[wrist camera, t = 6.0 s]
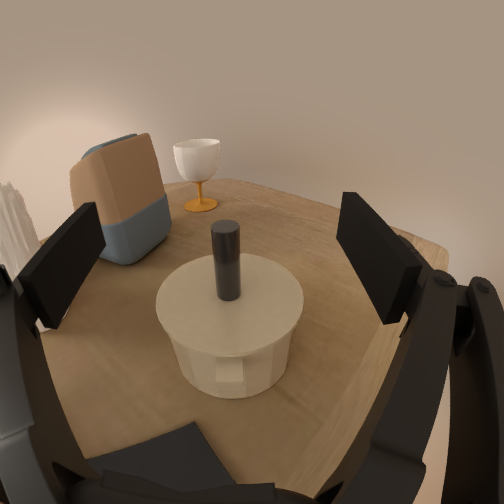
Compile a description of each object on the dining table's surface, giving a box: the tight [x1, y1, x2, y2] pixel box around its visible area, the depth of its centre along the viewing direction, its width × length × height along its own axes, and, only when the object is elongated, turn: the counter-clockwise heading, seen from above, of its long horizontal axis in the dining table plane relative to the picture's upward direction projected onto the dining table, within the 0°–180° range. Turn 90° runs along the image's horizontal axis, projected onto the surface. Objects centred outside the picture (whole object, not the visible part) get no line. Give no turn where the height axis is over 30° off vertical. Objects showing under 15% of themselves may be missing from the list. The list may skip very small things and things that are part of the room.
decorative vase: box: [0, 182, 70, 333], centre depth 32 cm, size 11×11×25 cm
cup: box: [173, 139, 220, 212], centre depth 69 cm, size 12×12×17 cm
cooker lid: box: [156, 220, 304, 357], centre depth 28 cm, size 16×16×9 cm
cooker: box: [169, 328, 295, 399], centre depth 32 cm, size 15×20×10 cm
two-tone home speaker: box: [70, 133, 172, 265], centre depth 51 cm, size 17×17×23 cm
